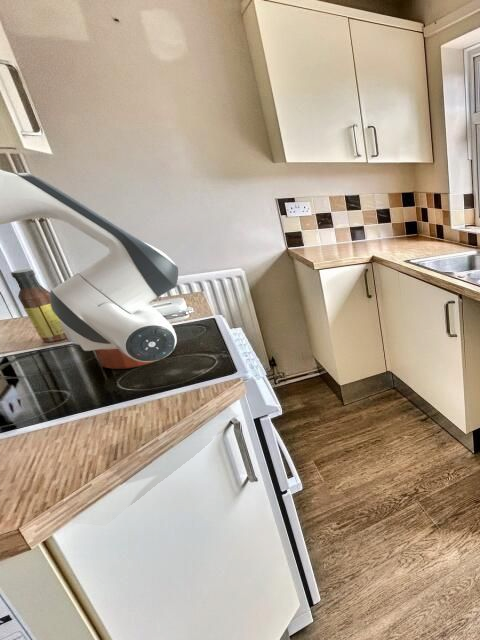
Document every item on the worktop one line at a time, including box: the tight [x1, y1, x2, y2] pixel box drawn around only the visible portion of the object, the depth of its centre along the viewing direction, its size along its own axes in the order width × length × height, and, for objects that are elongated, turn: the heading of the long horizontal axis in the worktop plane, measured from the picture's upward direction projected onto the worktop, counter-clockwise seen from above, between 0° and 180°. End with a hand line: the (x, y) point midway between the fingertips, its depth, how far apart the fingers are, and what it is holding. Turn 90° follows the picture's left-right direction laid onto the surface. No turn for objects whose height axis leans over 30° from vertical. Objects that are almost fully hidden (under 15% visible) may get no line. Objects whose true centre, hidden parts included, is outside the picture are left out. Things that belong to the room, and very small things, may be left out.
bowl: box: [94, 348, 156, 370], centre depth 106 cm, size 14×14×6 cm
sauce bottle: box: [10, 268, 68, 343], centre depth 116 cm, size 6×6×20 cm
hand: (124, 310), depth 93 cm, fingers open, 8 cm apart
